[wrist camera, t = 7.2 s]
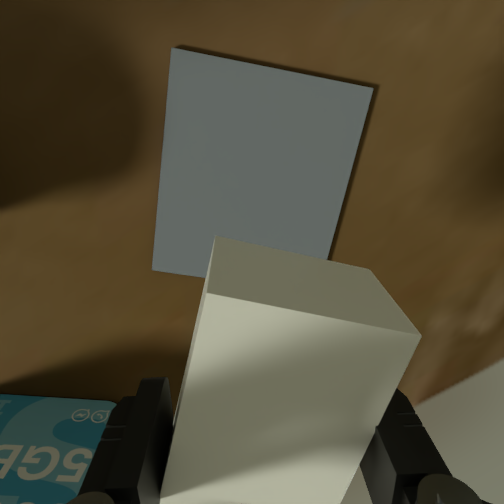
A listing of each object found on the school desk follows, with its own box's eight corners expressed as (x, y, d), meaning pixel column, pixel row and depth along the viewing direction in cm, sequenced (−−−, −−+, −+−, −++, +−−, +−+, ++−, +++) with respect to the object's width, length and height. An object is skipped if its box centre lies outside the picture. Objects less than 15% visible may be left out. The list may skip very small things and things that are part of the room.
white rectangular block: (215, 235, 11) (206, 292, 8) (369, 269, 11) (421, 335, 8) (165, 456, 14) (144, 562, 11) (288, 473, 15) (302, 579, 11)
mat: (153, 267, 27) (151, 270, 26) (172, 48, 22) (171, 47, 21) (316, 291, 28) (317, 293, 27) (371, 88, 23) (373, 88, 22)
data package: (127, 400, 31) (65, 567, 20) (127, 440, 33) (70, 615, 22) (-26, 390, 30) (-179, 559, 19) (-17, 432, 32) (-154, 611, 21)
